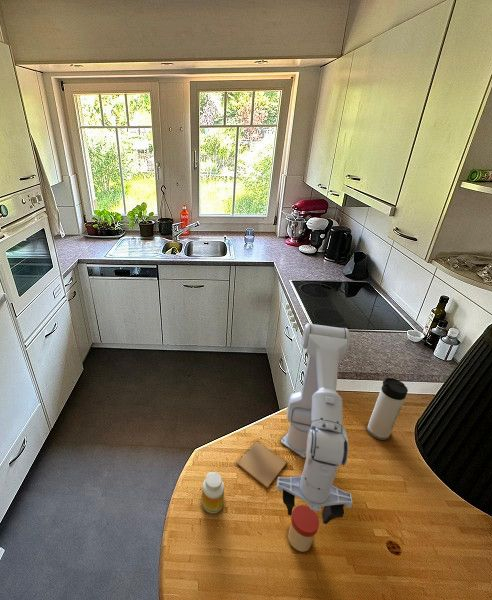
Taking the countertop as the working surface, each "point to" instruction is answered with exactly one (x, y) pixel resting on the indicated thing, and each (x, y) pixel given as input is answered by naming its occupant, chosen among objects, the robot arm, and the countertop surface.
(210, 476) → the supplement bottle
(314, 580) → the countertop surface
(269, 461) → the trivet
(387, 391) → the travel mug
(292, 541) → the jar
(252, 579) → the countertop surface
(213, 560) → the countertop surface
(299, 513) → the lid
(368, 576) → the countertop surface
